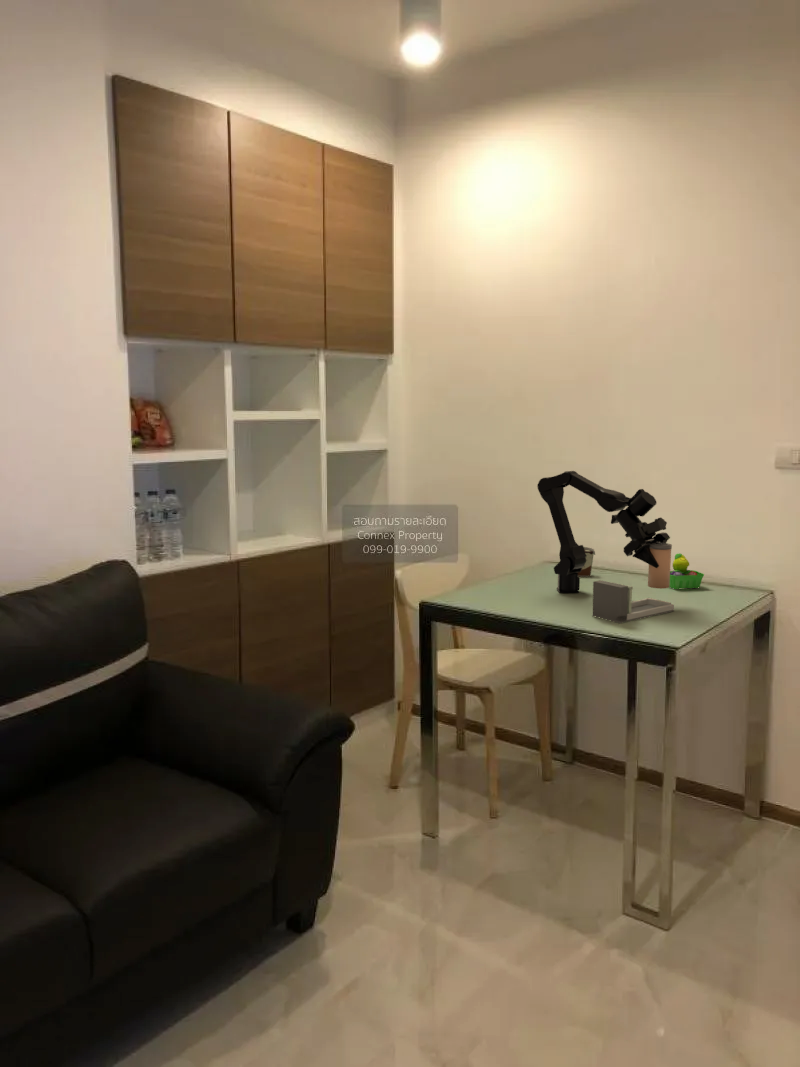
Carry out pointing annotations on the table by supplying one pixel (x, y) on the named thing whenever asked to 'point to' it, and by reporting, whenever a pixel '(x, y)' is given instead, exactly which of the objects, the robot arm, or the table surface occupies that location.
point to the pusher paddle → (629, 598)
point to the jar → (660, 566)
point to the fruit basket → (684, 574)
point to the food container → (587, 562)
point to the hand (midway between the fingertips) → (663, 565)
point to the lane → (623, 603)
